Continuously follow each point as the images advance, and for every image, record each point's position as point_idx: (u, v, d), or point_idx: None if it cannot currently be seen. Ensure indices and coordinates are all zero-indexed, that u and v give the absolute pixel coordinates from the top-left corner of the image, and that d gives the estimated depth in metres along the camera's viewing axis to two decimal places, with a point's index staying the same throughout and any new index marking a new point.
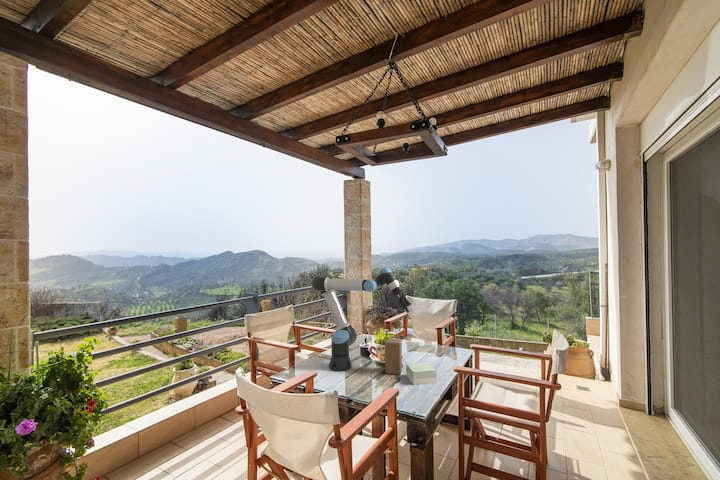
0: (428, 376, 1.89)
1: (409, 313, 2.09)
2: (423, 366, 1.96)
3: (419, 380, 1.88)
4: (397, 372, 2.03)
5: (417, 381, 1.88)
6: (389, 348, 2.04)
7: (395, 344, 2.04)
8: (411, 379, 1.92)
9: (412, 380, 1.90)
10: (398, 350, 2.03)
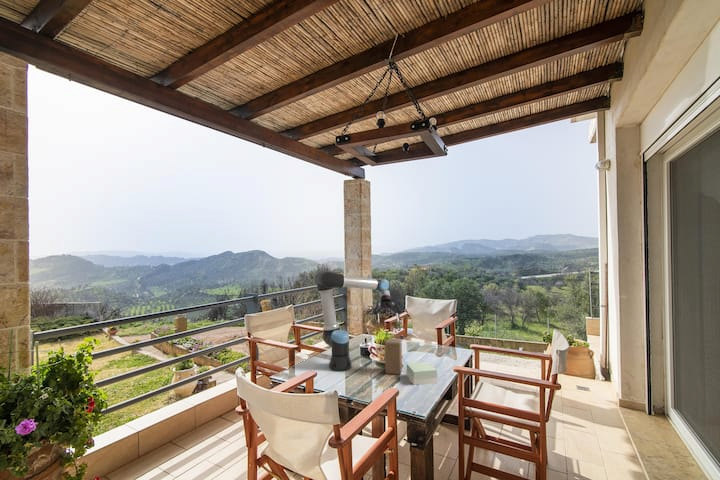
0: (429, 376, 1.89)
1: None
2: (423, 366, 1.96)
3: (419, 380, 1.88)
4: (397, 372, 2.03)
5: (417, 381, 1.88)
6: (389, 348, 2.04)
7: (395, 344, 2.04)
8: (411, 379, 1.92)
9: (412, 380, 1.90)
10: (398, 350, 2.03)
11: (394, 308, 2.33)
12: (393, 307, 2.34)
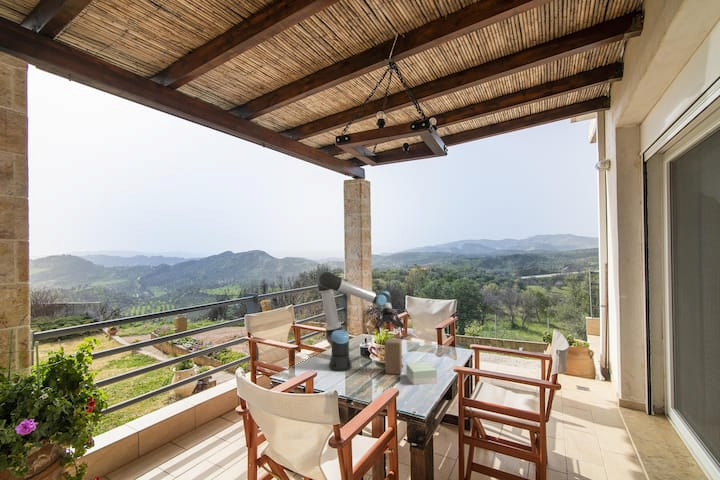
0: (428, 376, 1.89)
1: (400, 333, 2.22)
2: (423, 366, 1.96)
3: (418, 380, 1.88)
4: (397, 372, 2.03)
5: (417, 381, 1.88)
6: (389, 348, 2.04)
7: (395, 344, 2.04)
8: (411, 379, 1.92)
9: (412, 380, 1.90)
10: (398, 350, 2.03)
11: (396, 322, 2.27)
12: (395, 321, 2.28)
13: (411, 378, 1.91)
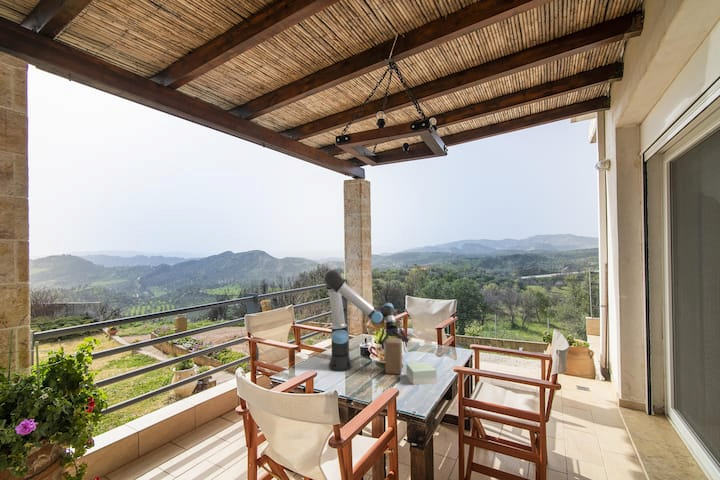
0: (428, 376, 1.89)
1: None
2: (423, 366, 1.96)
3: (418, 380, 1.88)
4: (397, 372, 2.03)
5: (417, 381, 1.88)
6: (390, 348, 2.04)
7: (395, 344, 2.03)
8: (411, 379, 1.92)
9: (412, 380, 1.90)
10: (398, 350, 2.03)
11: (401, 336, 2.17)
12: (400, 335, 2.18)
13: (411, 378, 1.92)
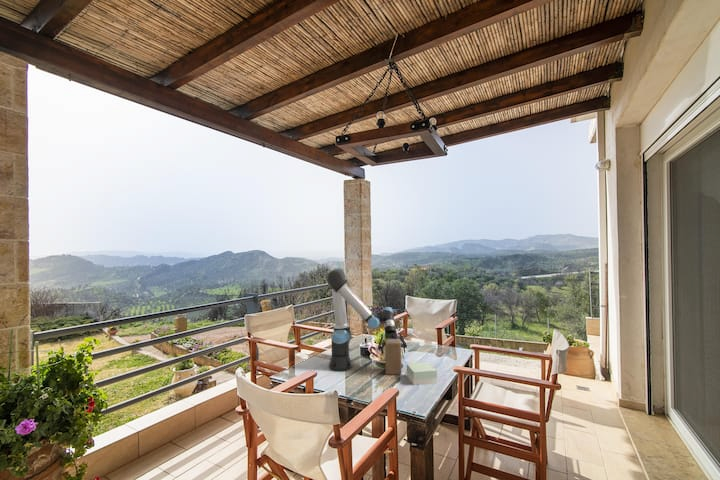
0: (429, 376, 1.89)
1: (403, 354, 2.08)
2: (423, 366, 1.96)
3: (418, 380, 1.88)
4: (398, 372, 2.02)
5: (417, 381, 1.88)
6: (390, 348, 2.03)
7: (396, 344, 2.03)
8: (411, 379, 1.92)
9: (412, 380, 1.90)
10: (399, 350, 2.03)
11: None
12: None
13: (411, 378, 1.92)
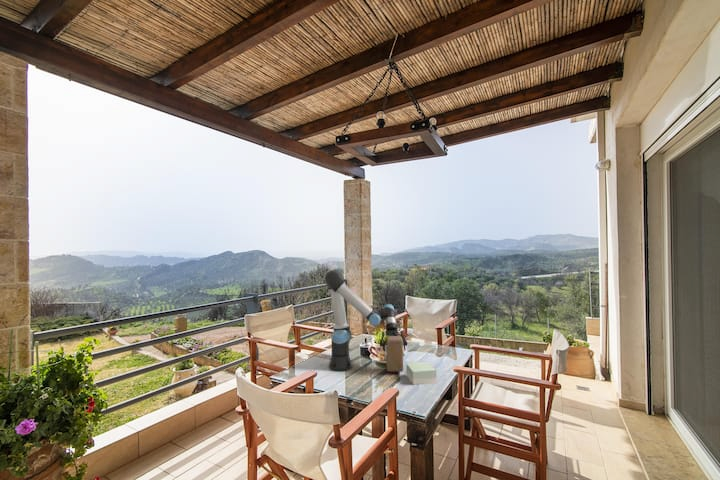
0: (428, 376, 1.89)
1: None
2: (423, 366, 1.96)
3: (418, 380, 1.88)
4: (399, 369, 2.03)
5: (417, 381, 1.88)
6: (392, 346, 2.03)
7: (398, 341, 2.03)
8: (411, 379, 1.92)
9: (412, 380, 1.90)
10: (401, 347, 2.03)
11: None
12: None
13: (411, 378, 1.92)
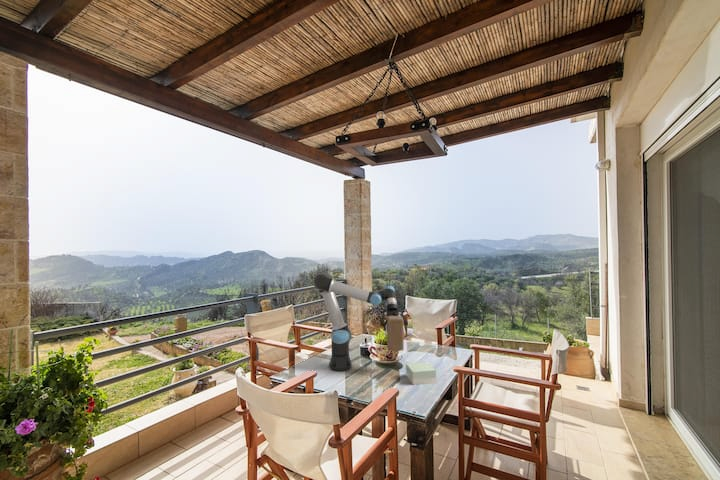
0: (428, 376, 1.89)
1: None
2: (422, 366, 1.96)
3: (418, 380, 1.88)
4: (400, 348, 2.03)
5: (417, 381, 1.88)
6: (392, 325, 2.03)
7: (398, 320, 2.03)
8: (411, 379, 1.92)
9: (412, 380, 1.90)
10: (401, 326, 2.03)
11: None
12: None
13: (411, 378, 1.92)
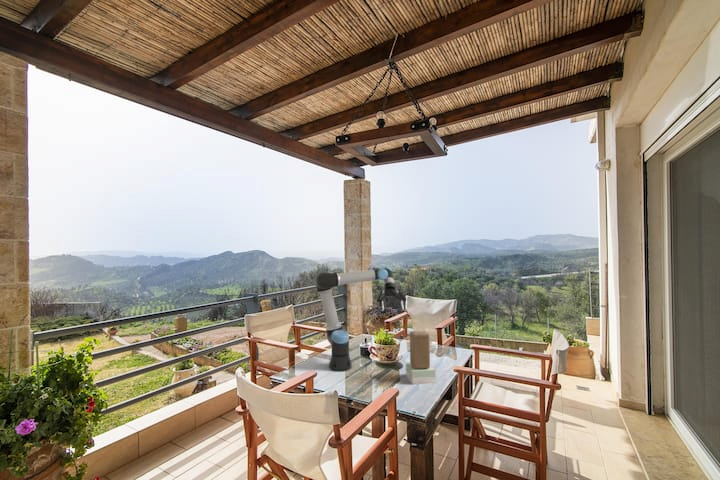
0: (427, 376, 1.90)
1: None
2: None
3: (418, 380, 1.89)
4: (426, 366, 1.91)
5: (416, 381, 1.89)
6: (418, 340, 1.92)
7: (424, 336, 1.93)
8: (410, 379, 1.92)
9: (411, 380, 1.91)
10: (427, 342, 1.93)
11: (399, 296, 2.27)
12: (397, 295, 2.27)
13: (410, 378, 1.92)
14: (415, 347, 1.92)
